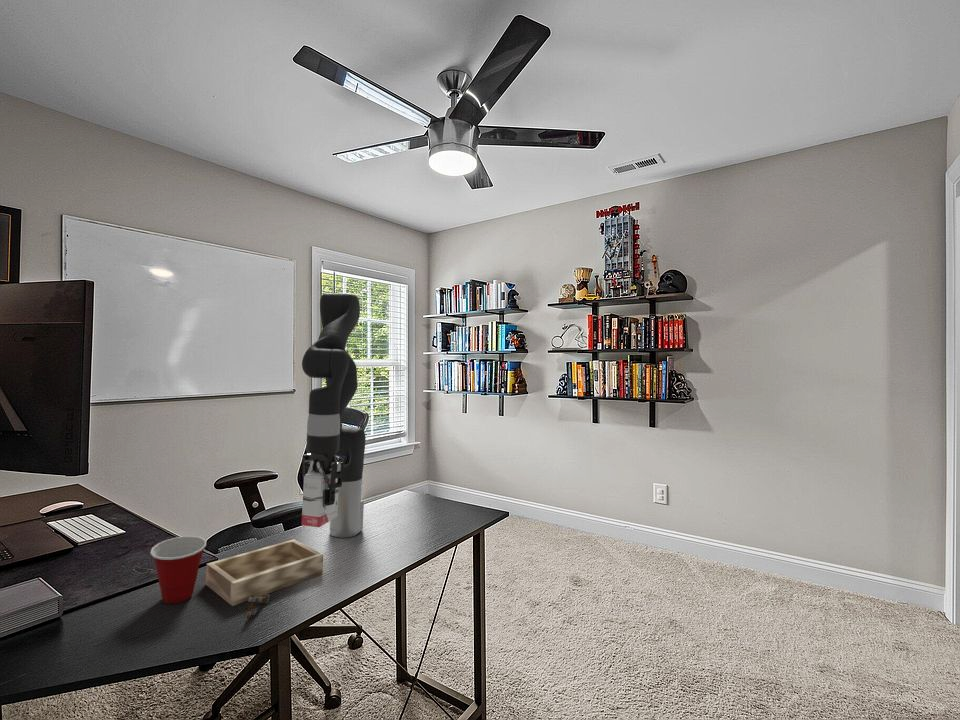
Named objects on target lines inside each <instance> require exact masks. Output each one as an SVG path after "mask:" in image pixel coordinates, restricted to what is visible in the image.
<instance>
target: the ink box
mask: <svg viewBox="0 0 960 720" xmlns="http://www.w3.org/2000/svg"><path fill="white" fill-rule="evenodd" d="M307 473H308V472H307ZM329 475H331V473H330V474H327V475H326V476H329ZM337 480H338V478H336V482H337ZM328 481H329V484H330V480H328ZM338 489H339V487H338V488H336V489H335V502H334V504H333V505H329V506H327V505H325V490H326V488H325V480H324V477H323V476H321V475H320V473H315V472H314V471H313V472H310V473H308V474H306V475H305V476H304V479H303V487H302V493H303V494H302V506H301V507H302V508H301V510H302V511H301V526H303V527H312V528H321V527H322V526H324V525H325V524H327V523H330V521H331V520H332V519H334V518H335V517H337V510H338Z"/></svg>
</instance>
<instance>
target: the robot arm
mask: <svg viewBox="0 0 960 720" xmlns="http://www.w3.org/2000/svg"><path fill="white" fill-rule="evenodd" d="M319 300H320V301H319V310H320V311H319V312H320V320H321V321H320V322H321V328H322V329H321V331H320V333H319V335H318V336H319V337H318V339H317V340H316V341H315V342H314V343H313V344H311V345H310V347H308V348H307V349H306V351H305V353H304V355H303V357H302V361H301V368H302V371H303V372H304V374H305V375H306V376H307V377H310V378H313V379H325V386H324V387H316V388H314V389H312V390H310V392H309V397H308V398H309V399H308V417H307V423H306V448H305V449H306V450H305V451H306V452H307V453H306V454H304V453H303V454H302V478H303V480H304V476H305V475H306V474H308V473H310V472H313V471H314V472H315V473H320V475H321V476H323V477H324V480H325V488H326V490H325V505H327V506H329V505H333V504H334V502H335V489H336V488H338V487H339V489H338V510H337V517H335V518H334V519H332V520H331V521H329V535H330V536H332V537H335V538H352V537H355V536H357V534H358V533H359V532H360V531H362V530H363V531H364V527H363V526H364V509H365V508H364V507H365V504H364V503H365V502H364V501H363V500H362V495H363V494H362V491H363V487H362V486H363V472H364V464H365V463H364V462H365V460H364V459H365V451H366V433H365V430H364V429H363V428H361V427H351V426H350V427H349V426H343V416H344V412H345V411H346V408H347V407H348V405H349V403H350V402H351V400H352V399H353V397H354V396H355V394H356V392H357V390H358V368H357V364H356V362H355V361H354V360H353V358H352V356H351V355H350V354H349V352H348V351H347V349H346V347H347V343H348V339H349V337H350V335H351V333H352V332H353V330H354V329H355V328H356V325H357V324H358V323H359V318H360V314H361V313H360V312H361V305H360V299H359V297H358V296H357V295H356V294H355V293H349V292H345V293H343V292H341V293H340V292H332V293H331V292H326V293H322V295H321V297H320V299H319ZM336 457H342V458H343V457H345V458H346V457H347V458H350V459H349V463H347V464H344V461H340V462H338V461H336ZM330 473H331V475H329V476H326V475H327V474H330ZM336 478H338V480H337V482H336ZM328 480H330V484H329V481H328ZM363 531H362V532H363ZM360 533H361V532H360ZM360 533H359V534H360ZM359 534H358V535H359Z"/></svg>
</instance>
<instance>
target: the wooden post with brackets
mask: <svg viewBox="0 0 960 720" xmlns="http://www.w3.org/2000/svg"><path fill="white" fill-rule="evenodd" d="M269 600H270V594H262V595H261V596H260V597H255V595H251V597H249V600H248V601H247V602H249V605H248V609H247V611H246V613H245V614H246V618H245V619H247V620H250V619H251V616H255V615H257V612H258V609H255V608H254V609H253V607H254V605H255V603H259V604H269V602H270V601H269Z"/></svg>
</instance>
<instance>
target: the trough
mask: <svg viewBox="0 0 960 720" xmlns="http://www.w3.org/2000/svg"><path fill="white" fill-rule="evenodd" d="M323 568H324V553H321V552H319V551H318V550H315V549H313V548H312V547H309V545H306V544H304V543H302V542H300V541H298V540H296V539H294V538H293V539H290V540H287V541H283V542H279V543H276V544H272V545H268V546H265V547H262V548H258V549H254V550H251V551H247V552H244V553H240V554H237V555H232V556H229V557H226V558H222V559H219V560H215V561H211V562H208V563H206V570H205V572H206V573H205V585H206V586H207V587H208V588H209V589H210V590H212V591H213V592H214V593H215V594H217V595H218V596H219V597H221V598H222V599H223V600H224V601H225V602H226V603H228V604H229V605H230V606H231V607H234V606H237V605H240V604H243V603H245V602H248V600H249V597H251V595H255V597H261V595H262V594H266V595H269V594H271V593H273V592H276V591H279V590H282V589H286V588H287V587H290V586H293V585H297V584H299V583H302V582H305V581H307V580H310V579H313V578H315V577H318V576H321V575H323V572H324V571H323V570H324V569H323Z"/></svg>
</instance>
